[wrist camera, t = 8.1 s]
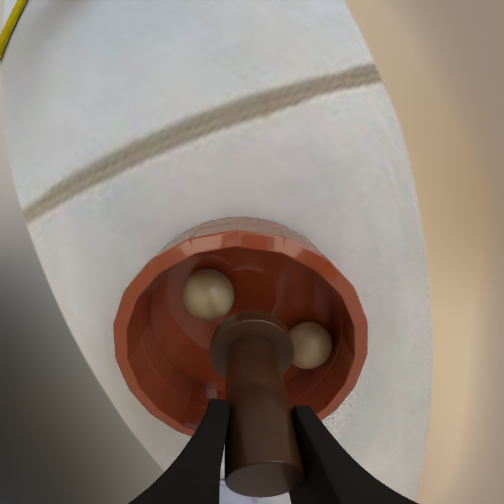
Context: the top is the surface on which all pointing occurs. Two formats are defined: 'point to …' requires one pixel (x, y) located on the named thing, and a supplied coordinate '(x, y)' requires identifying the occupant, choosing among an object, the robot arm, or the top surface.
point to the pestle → (257, 404)
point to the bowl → (245, 299)
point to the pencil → (11, 24)
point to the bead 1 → (207, 295)
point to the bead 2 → (310, 345)
